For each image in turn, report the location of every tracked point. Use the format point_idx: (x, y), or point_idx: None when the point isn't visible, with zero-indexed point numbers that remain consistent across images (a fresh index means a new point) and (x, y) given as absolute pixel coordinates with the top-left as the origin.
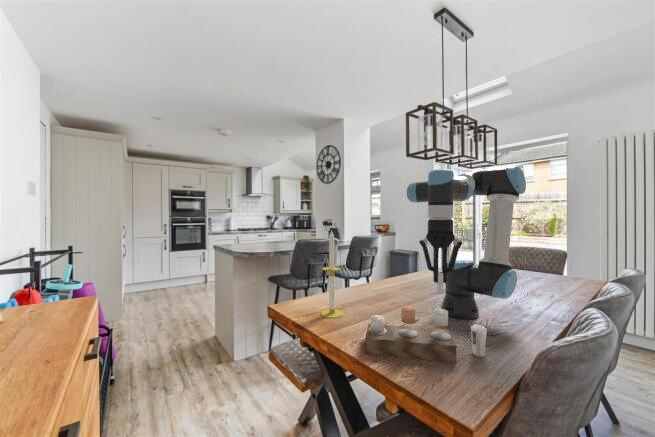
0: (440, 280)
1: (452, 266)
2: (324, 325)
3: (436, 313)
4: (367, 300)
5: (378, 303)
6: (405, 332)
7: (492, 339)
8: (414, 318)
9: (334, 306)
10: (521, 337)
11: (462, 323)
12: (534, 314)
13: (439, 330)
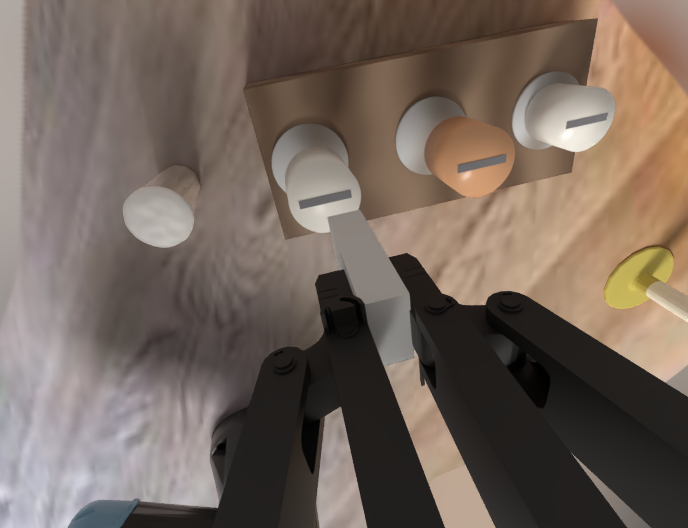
0: (368, 261)
1: (270, 398)
2: (669, 188)
3: (343, 166)
4: None
5: None
6: None
7: (152, 311)
8: (436, 142)
9: (654, 292)
10: (69, 361)
11: (253, 378)
12: (61, 516)
13: None
